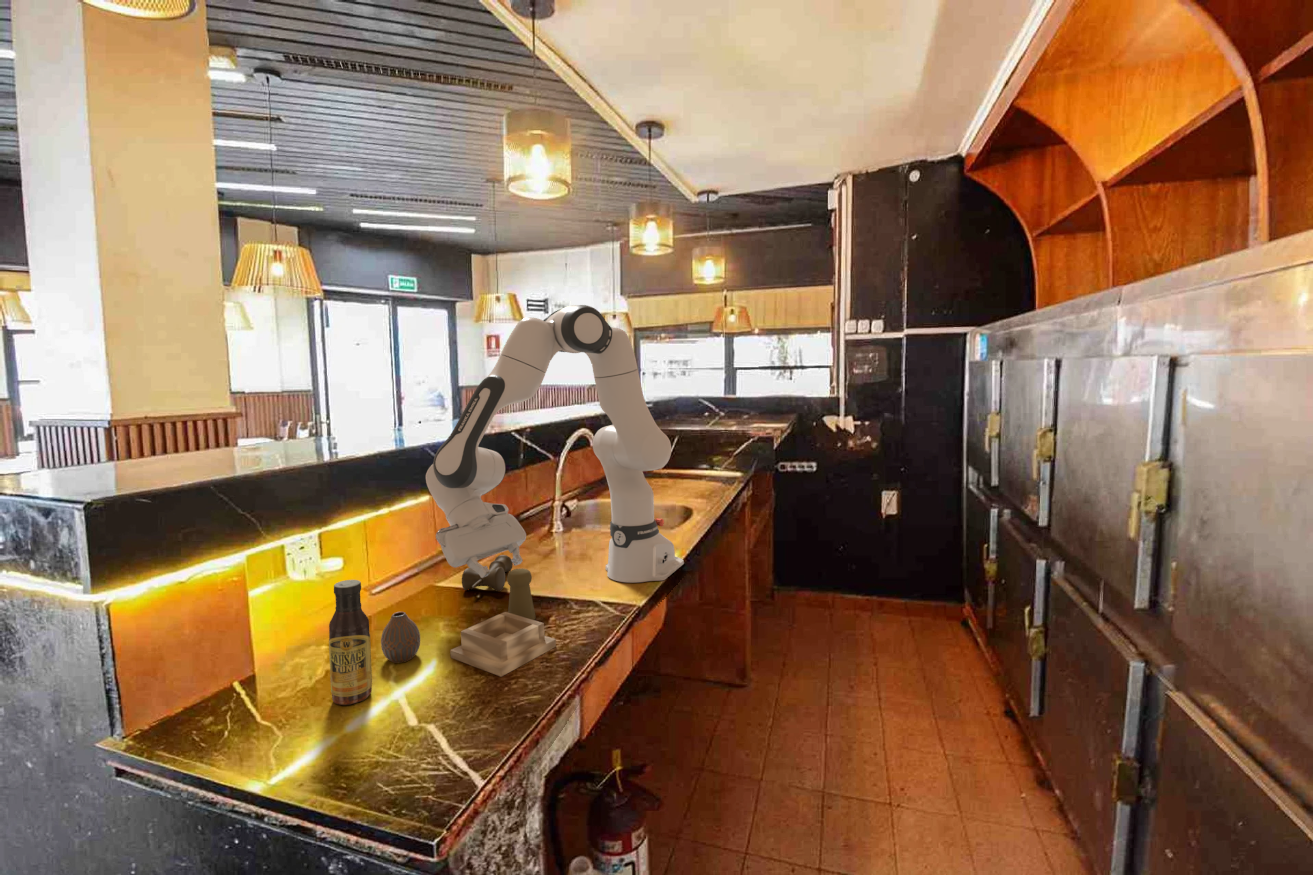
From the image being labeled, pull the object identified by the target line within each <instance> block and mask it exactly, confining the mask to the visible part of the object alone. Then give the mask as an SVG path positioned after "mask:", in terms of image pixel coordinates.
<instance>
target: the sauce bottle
mask: <svg viewBox="0 0 1313 875" xmlns="http://www.w3.org/2000/svg"><path fill="white" fill-rule="evenodd" d="M361 591H362V583H361V581H360V580H357V579H346V580H341V581H338V582H335V584H334V585H333V594H334V597H335V611H334V613H333V615H332V617H331V619H330V621H329V624H328V630H329V631H328V634H329V635H328V636H329V637H328V638H329V639H328V650H329V652H328V653H329V676H330V677H329V678H330V692H331V697H332V698H331V699H332V701H333V703H334V704H336V705H340V706H351V705H354V704H357V703H361V702H363V701H365V700H367V698H368V697H369V696H370V695H371V693H372V690H373V689H372V688H373V687H372V686H373V674H372V673H373V672H372V671H373V670H372V650H371V649H372V648H371V646H372V645H371V634H370V619H369V617H368V616H367V615H366V613H365V612H364V611H363V610H362V602H361Z"/></svg>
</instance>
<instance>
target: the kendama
mask: <svg viewBox="0 0 1313 875" xmlns="http://www.w3.org/2000/svg"><path fill="white" fill-rule="evenodd" d="M511 560H512V558H511V557H510V556H508V555H506V554H500V555H498V556H496V557H495V559H494V560H493V561H491V562H490V564H489V565H488V566H489V567H488V569H489V570H490V573H489V574H488V576H486V577H483V578H481V577H480V575H479V574H478V572H476V571H474V570H473V569H471V568H469V567H467V568H465V569H464V570H463V572H462V576H461V585H462V589H463V590H464V591H465V590H468V589H471V590H473V589H475V588H478V587H489V588H491V589H492V590H494V591H496V592H497V591H500V592H501V591H503V589H504V587H505V584H506V573H505V572H508V573H509V572H510V571H512V570H513V566H514V564H513V563H512V561H511ZM468 591H469V590H468Z"/></svg>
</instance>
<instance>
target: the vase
mask: <svg viewBox="0 0 1313 875" xmlns="http://www.w3.org/2000/svg"><path fill="white" fill-rule="evenodd" d="M380 646H381V650H382V653H383V655H384V657H385V658H386V659H387V660H388V661H390V662H392V663H396V664H397V663H398V664H400V663H405V662H408V661H411V660H412V659H413V658H414V657H415V656H416V655H417V653H418V651H419V649H420V646H421V633H420V630H419V628H418V626H417V624H416V623H415V621H413V620H412V619H411V618H410V617H409V616H408V614H406V612H404V611H397V612H394V613H393V614H392V615H391V617H390V619H389V621H388V623H387V624H386V626H385V627H384V629H383V631H382V634H381V639H380Z"/></svg>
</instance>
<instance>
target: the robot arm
mask: <svg viewBox="0 0 1313 875" xmlns="http://www.w3.org/2000/svg"><path fill="white" fill-rule="evenodd" d="M558 352H559V353H560V352H561V353H569V354H579V353H585V354H586V356H587V357H588V359H589V360H590V363H591V366H592V373H593V378H594V383H595V388H596V393H597V398H598V402H599V406H600V408H601V410H602V411H603V412H604V413H605V415H606V416H607V417H608V419H609V420H610V422H611V423H612V424H611V425H606V426H603V427H601V428H600V429H598V430H597V431H596V433H595V434H594V436H593V439H592V451H593V453H594V455H595V456H596V457H597V459H598V460H599V462H600V463H601V466H602V468H603V469H602V470H603V472H604V475H605V478H606V481H607V485H608V489H609V494H610V508H611V509H610V510H611V511H610V512H611V513H610V514H611V521H610V522H609V523H610V524H609V532H610V537H611V538H610V539H609V543H608V559H607V564H605V571H607V572H606V573H607V574H606V575H607V577H608V578H609V579H611V580H613V581H617V582H621V583H644V582H652V581H658V582H659V581H664V580H666V579H668V577H670V576H671V575H672V574H673V573H675V572H676V571H677V570H679V568H681V567H682V566H683V565H684V564H685V562H684V559H682V558H680V557H677V556H676V553H675V552H676V551H675V546H674V544H673V542H672V541H671V540H669V539H668V538H667V537H666V536H664V535H663V534H662V533H660V529H659V527H663V526H664V524H665V520H664V518H657V517H656V518H655V503H654V502H655V501H654V500H655V498H654V496H655V495H654V491H653V488H652V486H651V485H650V484H649V483H648V481H647V479H646V477H645V474H644V472H648V471H657V470H661V469H662V468H664V467H665V466H666V465H667V464H668V462H669V460H670V458H671V455H672V444H671V443H672V442H671V441H670V439H669V437H668V436H667V434H666V433H664V432H663V430H661V428H659V426H658V424H657V423H656V422H655V420H654V417H653V416H652V413H651V412H650V410H649V407H648V405H647V402H646V400H645V397H644V394H643V387H642V384H641V378H640V374H639V368H638V363H637V360H636V355H635V352H634V348H633V345H632V343H631V340H630V338H629V336H628V334H627V332H626V331H624V330H623V329H621V328H618V327H614V326H613V327H612V326H611V325H610V324H609V322H607V321H606V319H605V317H604V316H603V314H602V313H601V312H600V311H598V310H597V309H596V308H595V307H592V306H590V305H586V304H575V305H574V304H573V305H568V306H565V307H563V308H561V309H557V310H555V311H553V312H552V313H551V314H549V315H548V316H546V318H544V319H540V318H538V317H523V318H522V319H521V320H519V321H518V322H517V324H516V325H515V326H514V328H513V330H512V331H511V333H510V335H509V337H508V338H507V339H506V341H505V345H504V346H503V348H502V351H501V353H500V356H499V357H498V360H497V362H496V364H495V366H494V367H493V369H492V370H491V371H490V373H489V375H488V376H486V377H485V378H484V379H482V381H481V382H480V383H479V384H478V386H477V387H476V389H475V391H474V392H473V394H472V396H471V397H470V399H469V401H468V402H467V404H466V406H465V408H464V410H463V412H462V413H461V415H460V417H459V418H458V421H457V422H456V424H455V427H454V428H453V430H452V432H451V433H450V435H449V436H448V437H447V439H446V440H445V441H444V442H443V443H442V444H441V445H440V447H438V449H437V450H436V453H435V455H434V457H433V463H432V464H431V465H430V466H429V467H428V469H427V471H426V473H425V483H426V486H427V488H428V491H429V493H430V495H431V496H432V498H433V500H434V501H435V503H436V506H437V507H438V508H439V509H441V510H442V512H443V513H444V515H445V519H446V521H447V522H448V524H449V525H448V526H446V527H442V528H439V529H438V531H437V532H436V534H435V540H436V541H437V542H438V544H439V546H440V548H441V551H442V553H443V556H444V557H445V559H446V561H447V564H448V565H449V566H451V567H452V568H459V567H461V566H464V565H467V567H468V568H471V569H473V570H474V571H476V572H478V574H479V575H480V577H481V578H483V577H486V576H488V574H489V573H490V570H489V567H488V566H487V565H485V566H484V565H482V564H481V563H479V562H478V561H479V560H482V559H485V558H488V557H492V556H494V555H497V554H500V553H504V552H507V551H508V552H509V554H512V558H511V561H512V563H513V566H519V565H521V564H522V563H523V558H522V556H521V554H520V547H521V546H522V544H524V542H525V541H526V538H527V533H526V531H525V529H524V528H523V526H522V525H521V524H520V522H519V521H518V519H517V518H516V517H515V516H514V515H513V514H510V513H509V511H510V509H509V507H508V506H507V505H506V504H504V503H503V504H502V503H493V502H486V501H484V500H482V496H484V495H485V494H488V493H490V492H491V491H492V490H494V489H495V488H496V487H498V486H499V485H500V484H501V483H503V482H502V481H503V480H504V478H505V475H506V470H507V469H506V468H507V467H506V461H505V459H504V457H503V456H502V455H501V454H500V453H499V452H498V451H496V450H492V449H488V448H486V447H481V446H479V445H480V443H481V441H482V439H483V437H484V435H485V433H486V431H487V429H488V428H489V426H490V425H491V422H492V421H493V419H494V417H495V415H497V413H498V412H499V411H501V410H502V409H503V408H505V407H508V406H510V405H514V404H518V403H520V404H521V403H523V402H526V401H528V400H530V399H532V398H533V397H535V395H536V393H537V392H538V391H539V388H540V387H541V386H542V383H543V382H544V381H543V380H544V378H545V376H546V373H547V371H548V368H549V366H550V362H551V361H552V359H553V358H554V356H555V355H556V354H557V353H558Z"/></svg>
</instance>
